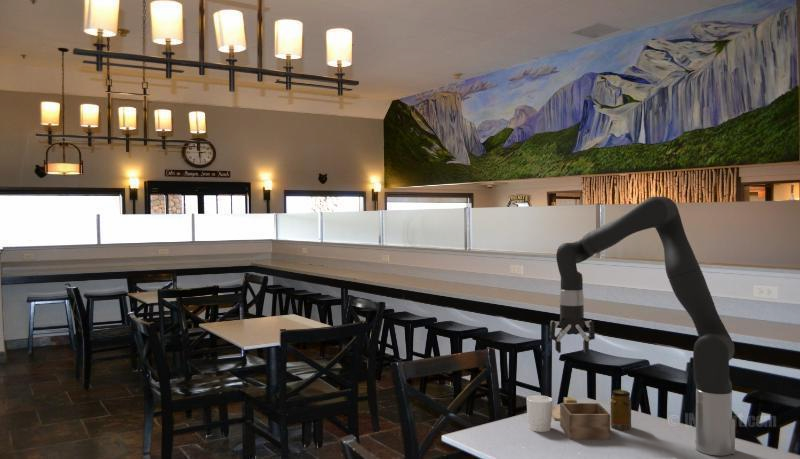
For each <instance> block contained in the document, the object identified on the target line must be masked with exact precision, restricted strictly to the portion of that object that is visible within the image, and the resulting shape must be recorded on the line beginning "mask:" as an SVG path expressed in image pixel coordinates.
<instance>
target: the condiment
mask: <svg viewBox="0 0 800 459" xmlns="http://www.w3.org/2000/svg"><path fill="white" fill-rule="evenodd" d="M610 429H613V430H616V431H630V430H631V429H632V401H631V394H630V392H629V391H628V390H623V389H613V390H612V392H611V399H610Z"/></svg>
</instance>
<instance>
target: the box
mask: <svg viewBox="0 0 800 459" xmlns="http://www.w3.org/2000/svg"><path fill="white" fill-rule="evenodd" d="M559 406H560V421H559V427H560V428H561V430H562V431H563V432H564V434H565V435H566V436H567V438H568V439H569V440H611V413H610V412H608V411H607V410H606V409H605V408H604V407H603V406H602V405H601V404H600V403H598V402H577V403H564V402H560V404H559Z"/></svg>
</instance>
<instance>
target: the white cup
mask: <svg viewBox="0 0 800 459" xmlns="http://www.w3.org/2000/svg"><path fill="white" fill-rule="evenodd" d="M552 406H553V398H552V397H549V396H547V395H542V394H541V395H540V394H539V395H536V394H534V395H529V396H527V397H526V414H527V415H526V416H527V424H528V425H527V426H528V429H529V430H531V431H532V432H533V431H534V432H540V433H541V432H542V433H543V432H549V431H551V429H552V419H553V417H552Z"/></svg>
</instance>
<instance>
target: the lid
mask: <svg viewBox="0 0 800 459" xmlns="http://www.w3.org/2000/svg"><path fill="white" fill-rule="evenodd" d="M563 403H578V400H577V399H576V398H575V397H574V396H571V397H570V396H567V397H565V396H563ZM552 419H553V420H554V421H558V422H560V405H559V406H554V405H552Z"/></svg>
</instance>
